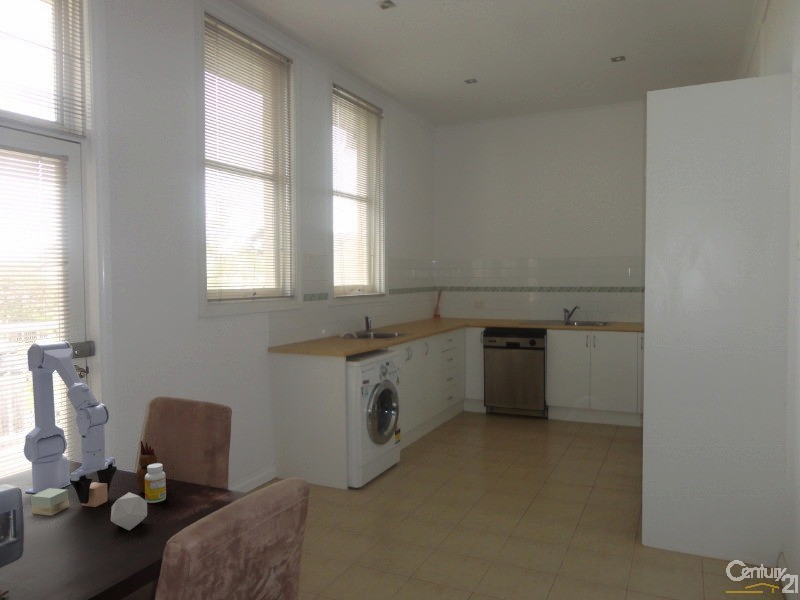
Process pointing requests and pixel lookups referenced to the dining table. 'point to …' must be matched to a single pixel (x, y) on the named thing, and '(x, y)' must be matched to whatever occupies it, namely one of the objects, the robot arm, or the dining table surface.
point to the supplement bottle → (155, 483)
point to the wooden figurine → (144, 465)
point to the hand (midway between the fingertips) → (94, 497)
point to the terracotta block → (97, 494)
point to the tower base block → (50, 508)
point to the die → (129, 511)
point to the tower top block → (49, 497)
